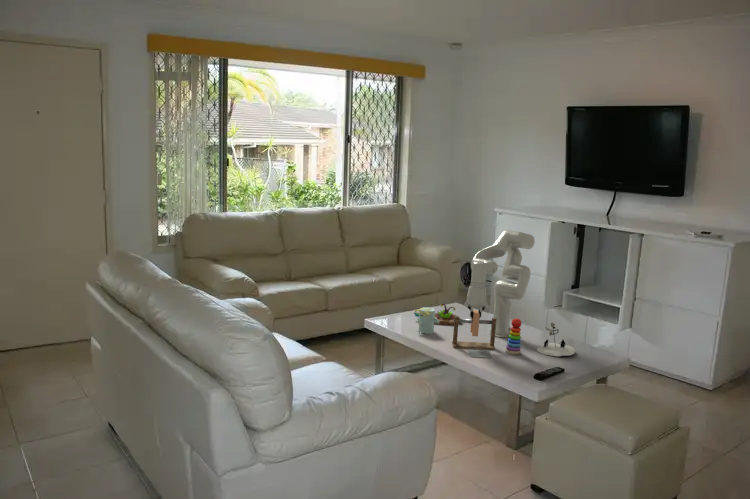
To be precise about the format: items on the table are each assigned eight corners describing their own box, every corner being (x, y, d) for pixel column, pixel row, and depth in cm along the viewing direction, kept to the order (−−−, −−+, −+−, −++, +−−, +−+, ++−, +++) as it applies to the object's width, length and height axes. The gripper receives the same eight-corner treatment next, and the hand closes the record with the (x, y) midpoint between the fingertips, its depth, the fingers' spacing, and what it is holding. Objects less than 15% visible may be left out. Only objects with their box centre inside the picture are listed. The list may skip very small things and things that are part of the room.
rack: (492, 345, 346) (494, 316, 343) (494, 350, 338) (497, 320, 335) (452, 343, 346) (454, 314, 344) (453, 347, 338) (455, 318, 336)
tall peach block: (475, 331, 345) (477, 310, 343) (478, 336, 337) (479, 314, 335) (470, 331, 345) (472, 310, 343) (472, 336, 337) (474, 314, 335)
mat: (489, 351, 336) (489, 350, 336) (492, 358, 325) (492, 357, 325) (468, 350, 336) (468, 349, 336) (470, 357, 325) (470, 356, 325)
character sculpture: (405, 329, 368) (406, 306, 365) (418, 326, 375) (420, 304, 373) (430, 338, 353) (432, 314, 351) (444, 334, 361) (445, 311, 359)
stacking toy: (511, 356, 330) (515, 321, 327) (502, 351, 337) (505, 317, 334) (523, 354, 333) (526, 319, 330) (513, 349, 340) (516, 315, 337)
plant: (425, 316, 398) (426, 299, 396) (456, 317, 400) (457, 299, 398) (431, 325, 378) (433, 307, 376) (464, 326, 380) (465, 308, 378)
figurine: (578, 349, 343) (578, 320, 341) (570, 359, 328) (570, 328, 325) (542, 345, 353) (541, 317, 351) (532, 354, 338) (531, 325, 336)
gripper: (492, 284, 340) (489, 317, 343) (461, 282, 340) (459, 315, 343) (494, 287, 333) (491, 321, 336) (463, 285, 333) (460, 319, 336)
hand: (475, 318), depth 340 cm, fingers closed on tall peach block, 3 cm apart
